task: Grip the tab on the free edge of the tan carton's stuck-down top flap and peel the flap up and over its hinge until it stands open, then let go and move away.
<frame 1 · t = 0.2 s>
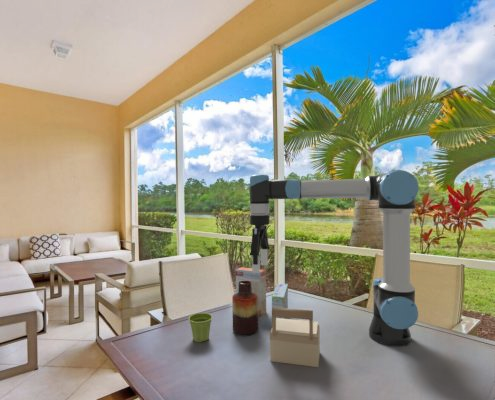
hand: (260, 268, 125), 28 cm above the table, tool pointing down, fingers open, 13 cm apart
vase: (245, 330, 134), on the table
carton: (295, 356, 111), on the table
cracker box: (251, 312, 155), on the table
flap: (294, 317, 109), point 15 cm above the table, hinge at 0.0°
plant pot: (200, 339, 126), on the table
snack box: (280, 323, 141), on the table
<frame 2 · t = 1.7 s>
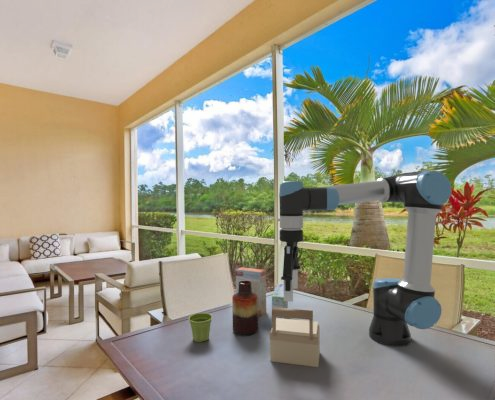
hand: (291, 294, 103), 24 cm above the table, tool pointing down, fingers open, 13 cm apart
nothing on the table moved.
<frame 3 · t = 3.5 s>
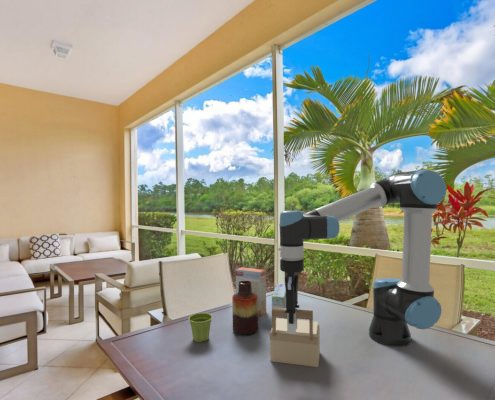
hand: (292, 330, 103), 13 cm above the table, tool pointing down, fingers closed on flap, 3 cm apart
flap: (294, 317, 109), point 15 cm above the table, hinge at 0.0°, touching gripper
everything else where it was.
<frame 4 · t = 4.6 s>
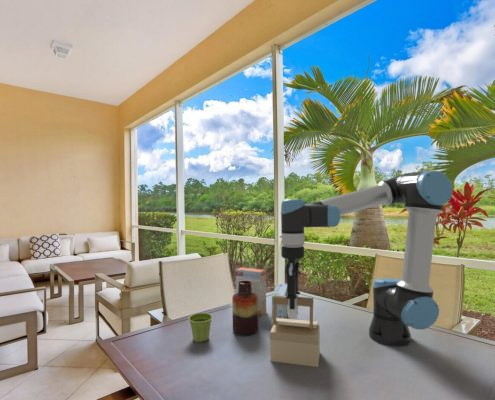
hand: (293, 316, 106), 16 cm above the table, tool pointing down, fingers closed on flap, 3 cm apart
flap: (294, 310, 110), point 17 cm above the table, hinge at 16.0°, touching gripper
everything else where it was.
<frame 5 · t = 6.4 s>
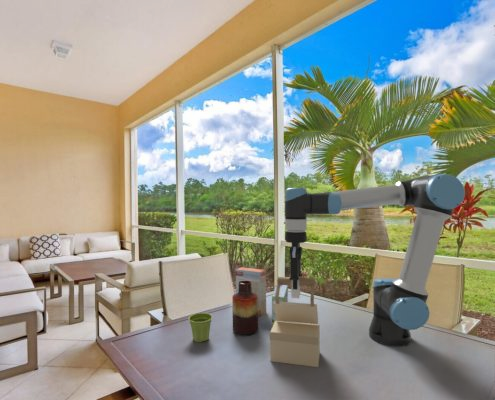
hand: (295, 296, 114), 20 cm above the table, tool pointing down, fingers closed on flap, 3 cm apart
flap: (296, 299, 115), point 19 cm above the table, hinge at 53.1°, touching gripper
everything else where it was.
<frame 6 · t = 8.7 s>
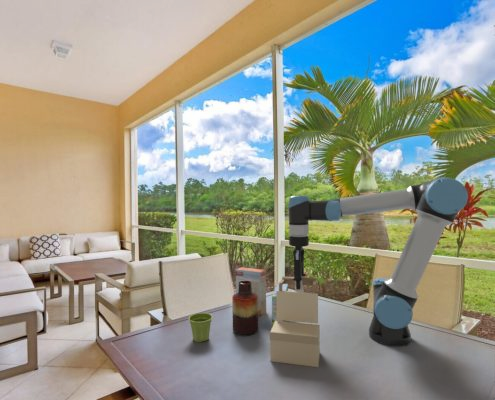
hand: (299, 294, 124), 18 cm above the table, tool pointing down, fingers open, 5 cm apart
flap: (298, 298, 120), point 18 cm above the table, hinge at 93.7°
everything else where it was.
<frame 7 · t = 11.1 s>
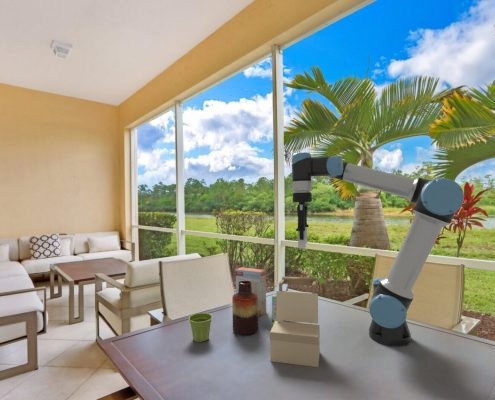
hand: (303, 245, 126), 36 cm above the table, tool pointing down, fingers open, 13 cm apart
nothing on the table moved.
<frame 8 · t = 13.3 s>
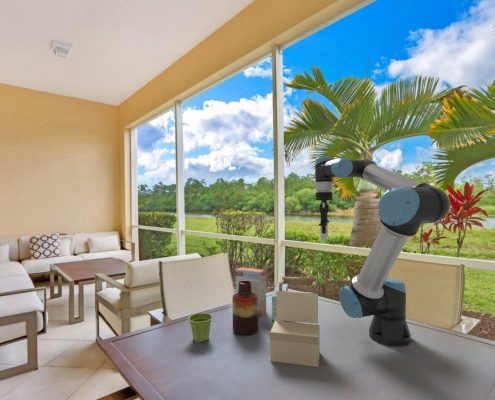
hand: (324, 238, 143), 37 cm above the table, tool pointing down, fingers open, 13 cm apart
nothing on the table moved.
at the end: flap at +94° (first picture: +0°); the gripper is holding nothing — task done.
